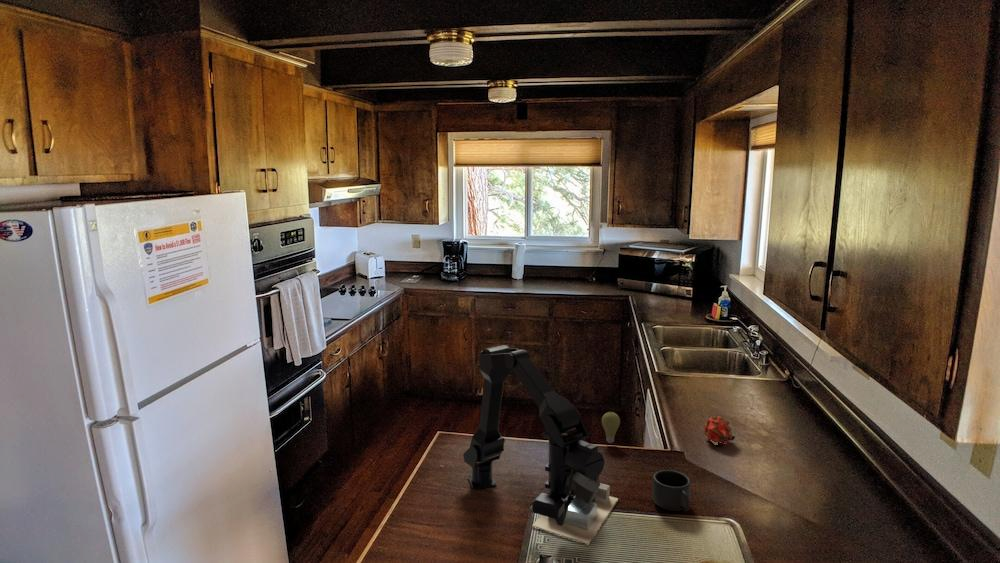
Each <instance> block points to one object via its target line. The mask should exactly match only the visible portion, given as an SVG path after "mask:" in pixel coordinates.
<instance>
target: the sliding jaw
mask: <svg viewBox="0 0 1000 563" xmlns="http://www.w3.org/2000/svg"><path fill="white" fill-rule="evenodd" d="M596 512H597V503H595V502H590V503H586V502H584V501H583V500H582V499H580V498H577V497H575V499H574V500H572V503H571V504H570V505H569V507H568V510H567V514H566V517H565V520H564V523H568V524H571V525H574V526H577V527H581V528H584V529H588V528H589V527H590V525H591V524H592V522H593V521H594V519H595V518H596ZM548 518H550V517H548ZM552 519H554V518H552Z"/></svg>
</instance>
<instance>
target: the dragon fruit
mask: <svg viewBox="0 0 1000 563" xmlns="http://www.w3.org/2000/svg"><path fill="white" fill-rule="evenodd" d="M732 431H733V429H732V427H731V426H730V421H729V420H726V419H724V418H723V417H722V416H719V415H718V416H712V417H709V418H708V419H707V420H706V421H705V422H704V425H703V435H704V434H705V435H706V436H707V437H708V438H709V439H710V440H712V441H714V442H721V443H722V444H725V445H726V444H728V441H731V442H732V441H734V440H735V438H736V436H735V435H733V433H732ZM709 439H708V440H709ZM710 440H709V441H710ZM726 440H727V441H726ZM722 444H721V445H722Z"/></svg>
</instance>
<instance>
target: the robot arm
mask: <svg viewBox="0 0 1000 563" xmlns="http://www.w3.org/2000/svg"><path fill="white" fill-rule="evenodd" d="M478 357H479V358H478V361H479V363H478V365H479V366H478V368H479V372H480V374H481V375H482V377H483V388H482V397H481V406H480V416H479V426H478V428H477V429H476V431H475V432H474V434H473V435H472V438H471V440H470V444H469V448H467V449H466V451H464V452H463V454H462V457H463V461H464V463H465V464H467V465H468V466H470V468H471V469H470V470H471V474H470V475H468V476H467V479H468V478H469V479H468V481H469V483H470V485H471V487H472V490H476V489H484V488H490V487H496V486H497V482H496V480H495V478H494V476H493V475H494V474H493V472H494V471H493V470H494V469H493V465H494V464H493V463H494V461H496V460H500V458H501V455H502V453H503V452H504V451H505V448H504V445H505V441H506V440H505V438H504V437H503V435H501V433H500V431H499V423H500V415H501V407H502V400H503V399H502V398H503V391H504V382H505V380H506V379H507V377H508V376H509V375H510V373H511V371H512V372H513V373H514V374H515V376H516V377H517V379H518V380H519V381H520V382H521V384H522V385H523V387H524V388H525V390H526V391H527V392H528V394H529V395H530V397H531V398H532V399H533V401H534V403H536V405H537V408H538V413H539V414H538V416H539V419H540V421H541V423H542V424H543V426H544V429H545V431H544V432H543V433H542V434H541V436H542V437H544V438H545V439H548V463H547V464H546V465H545V466H544V467H545V468H544V471H545V472H547V473H548V477H547V479H548V480H546V482H545V483H544V488H545V489H548V490H550V491H549V492H548V493H546V492H541V493H539V494H538V495H537V496H536V497H535V499H534V500H532V502H531V512H532V513H534V514H537V515H540V516H541V515H543V516H547V517H550V518H554V519H555V520H556V522H557V524H558V525H560V526H562V525H563V524H564V520H565V517H566V514H567V510H568V507H569V505H570V504H571V503H572V500H574V499H575V497H576V496H577V497H579V498H581V499H582V500H583V501H584V502H586V503H590V502H591V501H592V499H593V498H594V497H595V495H596V493H597V490H598V488H599V486H600V483H601V480H600V475H601V474H602V471H604V466H605V458H604V455H603V454H602V453H601V452H599V448H598V446H597V445H595V444H592V443H589V442H587V441H585V440H587V439H589V438H590V435H589V433H588V431H587V427H586V426H585V424H584V422H583V420H582V416H581V415H580V412H579V410H578V409H577V407H576V406H575V405H574V404H573V403H572V402H571V401H570V400H569V399H568V398H567V397H565V396H563V395H561V394H559V393H557V391H555V390H554V389H553V387H552V386H551V385H550V383H549V382H548V380H547V379H546V378H545V377H544V375H543V374H542V373H541V371H540V370H539V369H538V367H537V366H536V364H535V363H534V362H533V360H532V359H531V356H530V354H529V352H528V351H527V350H525V349H519V348H516V347H515V348H512V347H511V348H510V347H509V346H508V345H506V344H502V345H498V346H492V347H488V348H485V349H482V350H481V351H480V352H479V356H478ZM573 430H576V431H574V432H572V433H568V432H570V431H573ZM567 433H568V434H567Z"/></svg>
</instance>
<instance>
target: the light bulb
mask: <svg viewBox="0 0 1000 563" xmlns="http://www.w3.org/2000/svg"><path fill="white" fill-rule="evenodd" d="M620 424H621V418H620V417H619V415H618V414H617V413H615V412H613V411H608V412H607V411H606V413H604V414H603V416H602V417H601V425H602V428H603V429H604V433H605V436H606V438H605V439H606V440H605V441H606V442H607V443H608V444H612V443H614V442H615V436H616V433H617V431H618V429H619V427H620Z"/></svg>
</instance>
